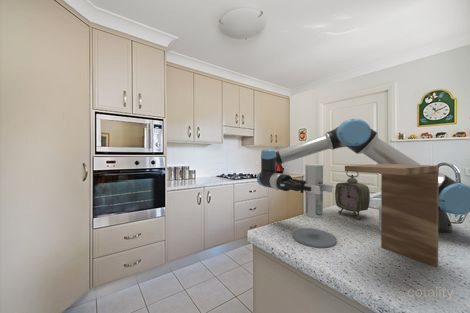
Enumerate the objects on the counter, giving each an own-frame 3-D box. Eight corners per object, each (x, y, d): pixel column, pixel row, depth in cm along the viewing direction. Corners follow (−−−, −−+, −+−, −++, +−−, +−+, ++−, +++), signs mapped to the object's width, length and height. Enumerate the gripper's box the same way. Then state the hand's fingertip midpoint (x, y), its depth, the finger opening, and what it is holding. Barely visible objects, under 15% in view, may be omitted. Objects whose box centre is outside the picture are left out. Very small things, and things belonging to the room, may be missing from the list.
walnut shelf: (383, 246, 70) (383, 163, 70) (438, 265, 58) (438, 165, 58) (344, 265, 58) (344, 165, 58) (403, 294, 46) (403, 168, 46)
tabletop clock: (335, 213, 110) (335, 168, 110) (346, 211, 114) (346, 168, 114) (360, 221, 97) (360, 170, 97) (371, 218, 100) (372, 170, 100)
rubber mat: (331, 232, 82) (331, 230, 82) (341, 250, 67) (341, 247, 67) (292, 228, 87) (292, 226, 87) (293, 244, 71) (293, 242, 71)
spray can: (308, 212, 81) (308, 164, 81) (325, 215, 77) (325, 164, 77) (302, 215, 76) (302, 164, 76) (320, 219, 72) (320, 165, 72)
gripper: (296, 188, 97) (341, 196, 77) (265, 191, 87) (307, 202, 67) (296, 173, 97) (341, 177, 77) (265, 175, 87) (308, 181, 67)
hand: (325, 189), depth 72 cm, fingers closed on spray can, 6 cm apart
